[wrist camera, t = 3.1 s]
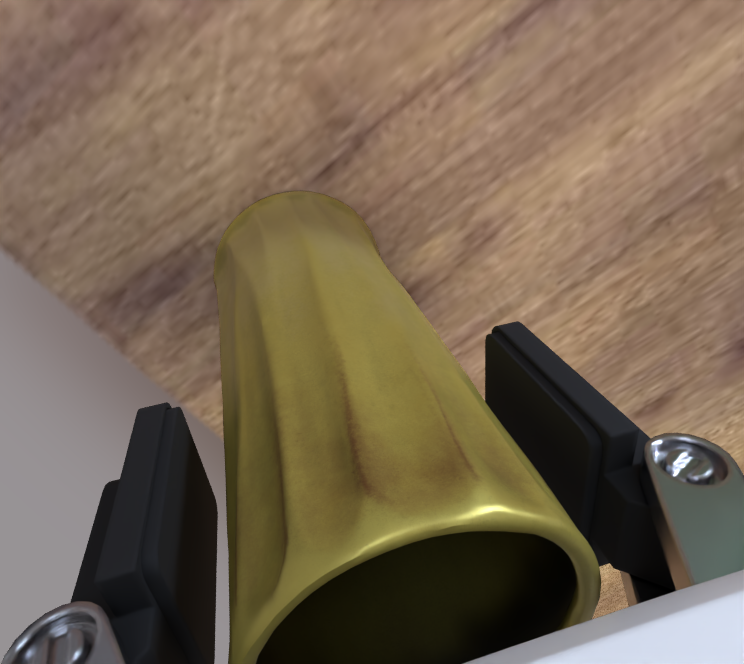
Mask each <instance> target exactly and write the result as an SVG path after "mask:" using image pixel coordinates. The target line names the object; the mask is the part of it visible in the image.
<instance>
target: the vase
mask: <svg viewBox="0 0 744 664" xmlns="http://www.w3.org/2000/svg"><path fill="white" fill-rule="evenodd" d="M214 283H215V287H216V289H217V299H218V313H219V324H220V360H221V382H222V397H223V426H224V449H225V470H226V471H225V472H226V506H227V534H228V550H229V606H230V607H229V608H230V610H229V611H230V643H229V659H228V664H463V663H466V662H469V661H472V660H475V659H478V658H481V657H483V656H486V655H489V654H492V653H495V652H498V651H501V650H504V649H507V648H510V647H513V646H515V645H518V644H521V643H524V642H527V641H530V640H533V639H536V638H539V637H542V636H545V635H548V634H550V633H553V632H556V631H559V630H562V629H565V628H568V627H571V626H574V625H577V624H580V623H583V622H586V621H589V620H592V617H593V615H594V612H595V609H596V606H597V604H598V601H599V598H600V589H601V577H600V569H599V564H598V561H597V559H596V556H595V554H594V552H593V550H592V548H591V546H590V545H589V543H588V542H587V540H586V539H585V538H584V536H583V535H582V534H581V533H580V531H579V530H578V529H577V527H576V526H575V524H574V523H573V521H572V520H571V519H570V517H569V516H568V514H567V513H566V511H565V510H564V508H563V507H562V505H561V504H560V502H559V501H558V500H557V498H556V497H555V495H554V494H553V492H552V491H551V489H550V488H549V487H548V485H547V484H546V482H545V481H544V479H543V478H542V477H541V475H540V474H539V473H538V471H537V470H536V468H535V467H534V466H533V464H532V463H531V462H530V460H529V459H528V458H527V456H526V455H525V454H524V452H523V451H522V450H521V448H520V447H519V446H518V445H517V443H516V442H515V441H514V439H513V438H512V437H511V436H510V434H509V433H508V432H507V431H506V429H505V428H504V427H503V425H502V424H501V423H500V421H499V420H498V419H497V418H496V416H495V415H494V413H493V412H492V411H491V409H490V408H489V407H488V405H487V404H486V402H485V401H484V399H483V398H482V397H481V395H480V394H479V392H478V391H477V389H476V387H475V386H474V384H473V383H472V381H471V380H470V378H469V377H468V375H467V374H466V373H465V371H464V370H463V368H462V367H461V366H460V364H459V363H458V361H457V360H456V359H455V357H454V356H453V355H452V353H451V352H450V351H449V349H448V348H447V346H446V345H445V344H444V342H443V341H442V340H441V338H440V337H439V335H438V334H437V332H436V331H435V330H434V328H433V327H432V325H431V324H430V323H429V321H428V320H427V319H426V317H425V316H424V314H423V313H422V312H421V310H420V309H419V308H418V306H417V305H416V304H415V302H414V301H413V299H412V298H411V297H410V295H409V294H408V293H407V291H406V290H405V289H404V288H403V286H402V285H401V284H400V283H399V281H398V280H397V279H396V278H395V277H394V276H393V275H392V274H391V273H390V271H389V270H388V268H387V267H386V266H385V264H384V263H383V261H382V260H381V257H380V254H379V250H378V248H377V245H376V242H375V240H374V238H373V236H372V234H371V232H370V230H369V228H368V227H367V225H366V224H365V222H364V221H363V220H362V218H361V217H360V216H359V215H358V214H357V213H356V212H355V211H354V210H353V209H351V208H350V207H349V206H347V205H345V204H344V203H342V202H340V201H338V200H336V199H334V198H331V197H329V196H326V195H323V194H319V193H315V192H308V191H291V192H284V193H279V194H275V195H272V196H269V197H266V198H264V199H261V200H259V201H258V202H256V203H254V204H252V205H251V206H250V207H248V208H247V209H246V210H244V211H243V212H242V213H241V214H240V215H239V216H238V217H237V218H236V219H235V220H234V221H233V222H232V223H231V224H230V226H229V227H228V228H227V230H226V231H225V233H224V235H223V237H222V239H221V241H220V244H219V246H218V249H217V253H216V257H215V265H214Z"/></svg>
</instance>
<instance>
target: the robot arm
mask: <svg viewBox="0 0 744 664" xmlns="http://www.w3.org/2000/svg"><path fill="white" fill-rule="evenodd" d="M485 402H486V404H487V405H488V407H489V408H490V409H491V411H492V412H493V413H494V415H495V416H496V418H497V419H498V420H499V421H500V423H501V424H502V425H503V427H504V428H505V429H506V431H507V432H508V433H509V434H510V436H511V437H512V438H513V439H514V441H515V442H516V443H517V445H518V446H519V447H520V448H521V450H522V451H523V452H524V454H525V455H526V456H527V458H528V459H529V460H530V462H531V463H532V464H533V466H534V467H535V468H536V470H537V471H538V473H539V474H540V475H541V477H542V478H543V479H544V481H545V482H546V484H547V485H548V487H549V488H550V489H551V491H552V492H553V494H554V495H555V497H556V498H557V500H558V501H559V502H560V504H561V505H562V507H563V508H564V510H565V511H566V513H567V514H568V516H569V517H570V519H571V520H572V521H573V523H574V524H575V526H576V527H577V529H578V530H579V531H580V533H581V534H582V535H583V536H584V538H585V539H586V540H587V542H588V543H589V545H590V546H591V548H592V550H593V552H594V554H595V556H596V559H597V561H598V564H599V566H602V565H605V564H608V563H610V564H611V565H612V566H613V568H615V569H617V570H620V573H621V577H622V581H623V585H624V589H625V593H626V597H627V601H628V605H629V607H627V608H624V609H621V610H618V611H615V612H613V613H610V614H607V615H604V616H601V617H598V618H595V619H592V620H589V621H586V622H583V623H580V624H577V625H574V626H571V627H568V628H565V629H562V630H559V631H556V632H553V633H550V634H548V635H545V636H542V637H539V638H536V639H533V640H530V641H527V642H524V643H521V644H518V645H515V646H513V647H510V648H507V649H504V650H501V651H498V652H495V653H492V654H489V655H486V656H483V657H481V658H478V659H475V660H472V661H469V662H466V663H463V664H744V475H743V473H742V472H741V470H740V468H739V466H738V465H737V463H736V462H735V460H734V459H733V458H732V457H731V456H730V454H729V453H727V452H726V451H725V450H723V449H722V448H721V447H719V446H718V445H716V444H714V443H712V442H710V441H708V440H706V439H703V438H700V437H697V436H694V435H690V434H682V433H664V434H661V435H658V436H655V437H653V438H652V439H651V438H649V437H648V436H647V435H646V434H645V433H644V432H643V431H642V430H640V428H638V427H637V426H636V425H635V424H634V423H633V422H632V421H631V420H629V419H628V418H627V417H626V416H625V415H624V414H623V413H622V412H620V411H619V410H618V409H617V408H616V407H615V406H614V405H613V404H611V403H610V402H609V401H608V400H607V399H606V398H605V397H604V396H603V395H601V394H600V393H599V392H598V391H597V390H596V389H595V388H594V387H592V386H591V385H590V384H589V383H588V382H587V381H586V380H585V379H583V378H582V377H581V376H580V375H579V374H578V373H577V372H576V371H574V370H573V369H572V368H571V367H570V366H569V365H568V364H567V363H565V362H564V361H563V360H562V359H561V358H560V357H559V356H558V355H556V354H555V353H554V352H553V351H552V350H551V349H550V348H549V347H548V346H546V345H545V344H544V343H543V342H542V341H541V340H540V339H539V338H537V337H536V336H535V335H534V334H533V333H532V332H531V331H530V330H528V329H527V328H526V327H525V326H524V325H523V324H522V323H520V322H512V323H508V324H504V325H499V326H495V327H494V328H493V329H492V334H488V335H487V336H486V341H485ZM217 514H218V512H217V504H216V499H215V496H214V494H213V491H212V488H211V486H210V483H209V480H208V478H207V475H206V472H205V470H204V467H203V464H202V462H201V459H200V456H199V454H198V451H197V449H196V446H195V443H194V441H193V438H192V435H191V433H190V430H189V427H188V425H187V422H186V419H185V417H184V414H183V412H182V410H181V408H180V407H176V408H171V406H170V404H169V403H162V404H158V405H154V406H149V407H145V408H141V409H139V410H138V412H137V415H136V419H135V423H134V427H133V431H132V434H131V439H130V443H129V447H128V450H127V454H126V458H125V462H124V466H123V470H122V473H121V477H120V479H119V480H115V481H111V482H109V483H107V484H106V485H105V488H104V490H103V492H102V496H101V499H100V503H99V506H98V510H97V513H96V516H95V520H94V524H93V527H92V530H91V534H90V537H89V541H88V544H87V548H86V551H85V554H84V558H83V561H82V565H81V568H80V572H79V575H78V579H77V582H76V586H75V589H74V592H73V596H72V599H71V603H69V604H65V605H62V606H59V607H57V608H55V609H54V610H52V611H50V612H48V613H46V614H44V615H43V616H42V617H40V618H39V619H37V620H36V621H35V622H33V623H32V624H31V625H30V626H28V627H27V628H26V630H24V632H23V633H22V634H21V635H20V636H19V637H18V638H17V639H16V640H15V641H14V643H13V644H12V646H11V647H10V648H9V650H8V651H7V653H6V654H5V656H4V658H3V661H2V663H1V664H214V659H215V613H216V612H215V611H216V566H217V565H216V563H217V518H218V516H217Z"/></svg>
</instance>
